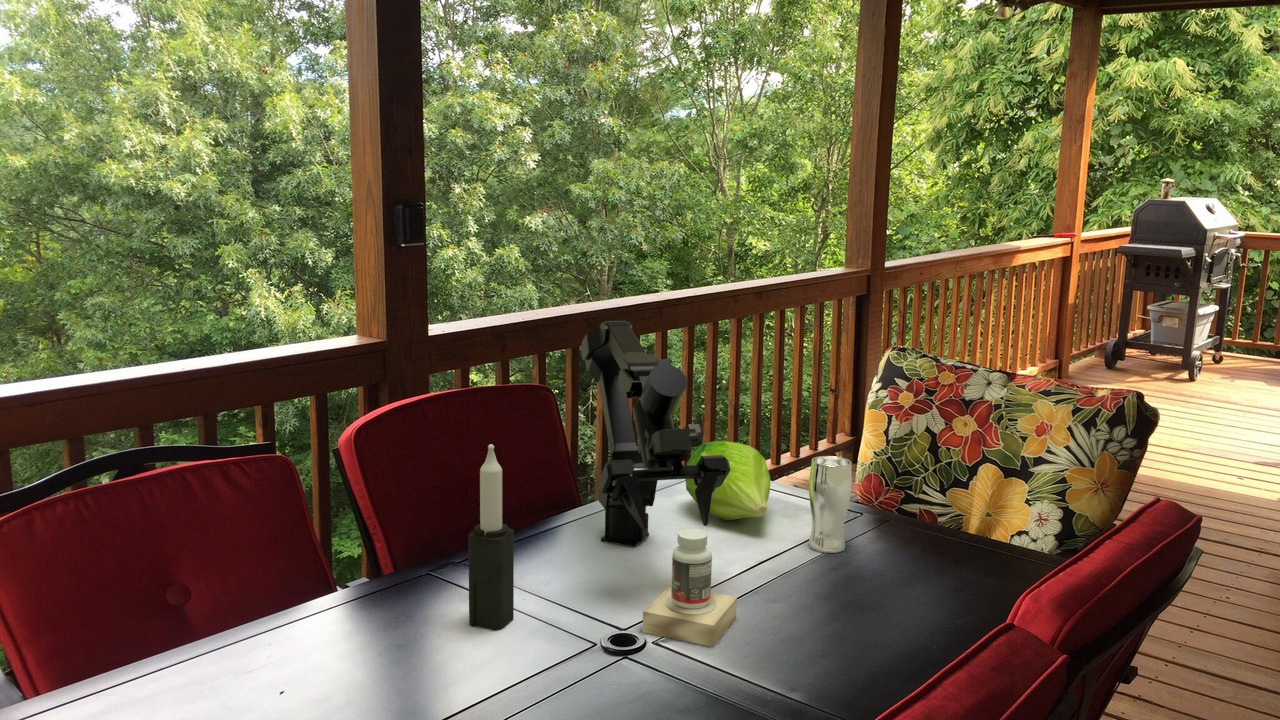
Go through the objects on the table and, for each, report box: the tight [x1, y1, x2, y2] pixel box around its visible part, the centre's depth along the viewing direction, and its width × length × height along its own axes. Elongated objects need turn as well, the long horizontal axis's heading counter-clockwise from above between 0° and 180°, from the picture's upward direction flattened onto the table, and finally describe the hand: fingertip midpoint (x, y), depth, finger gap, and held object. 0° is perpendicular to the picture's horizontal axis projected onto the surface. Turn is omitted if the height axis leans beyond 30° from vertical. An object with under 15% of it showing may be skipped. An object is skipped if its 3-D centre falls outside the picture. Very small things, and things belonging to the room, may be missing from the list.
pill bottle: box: [671, 528, 713, 609], centre depth 136 cm, size 5×5×10 cm
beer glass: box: [808, 455, 853, 554], centre depth 167 cm, size 7×7×15 cm
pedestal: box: [642, 584, 738, 648], centre depth 137 cm, size 10×10×3 cm
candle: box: [468, 443, 515, 631], centre depth 135 cm, size 5×5×25 cm
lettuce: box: [684, 440, 771, 521], centre depth 181 cm, size 15×22×15 cm
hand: (675, 526), depth 142 cm, fingers open, 9 cm apart
